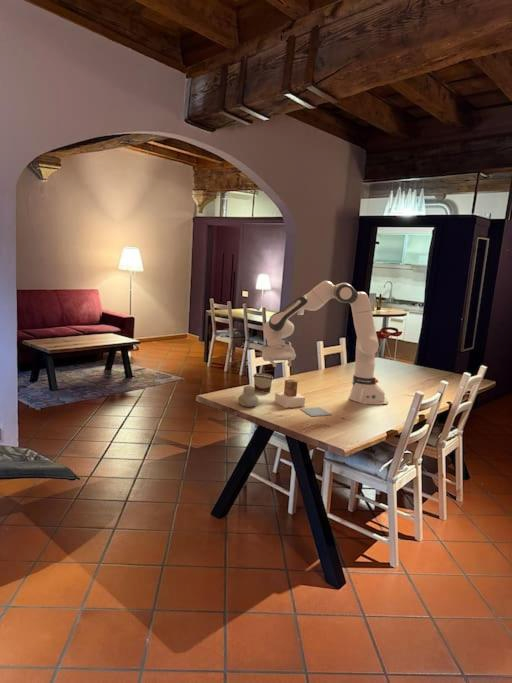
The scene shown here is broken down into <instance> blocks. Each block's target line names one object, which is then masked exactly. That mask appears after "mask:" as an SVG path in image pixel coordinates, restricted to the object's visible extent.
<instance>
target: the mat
mask: <svg viewBox="0 0 512 683" xmlns="http://www.w3.org/2000/svg"><path fill="white" fill-rule="evenodd" d="M299 410H300V411H302V412H303V413H305V414H306V413H307V415H308V416H310V417H312V418H314V417H326V415H327V416H332V413H330V412H329V411H327V410H326V409H323V408H322V407H319V406H318V407H316V406H315V407H306V408H305V407H303V408H299Z"/></svg>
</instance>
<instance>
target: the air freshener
mask: <svg viewBox="0 0 512 683" xmlns="http://www.w3.org/2000/svg"><path fill="white" fill-rule="evenodd" d="M255 392H256V391H255V388H254V386H251V385H245V386H244V387H243V392H242V394H241V395H239V396H238V398H237V402H238V403H239V405H241V406H242V407H244V406H245V408H253V407H255V406H257V405H258V404H259V398H258V396H257V395H255Z"/></svg>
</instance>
